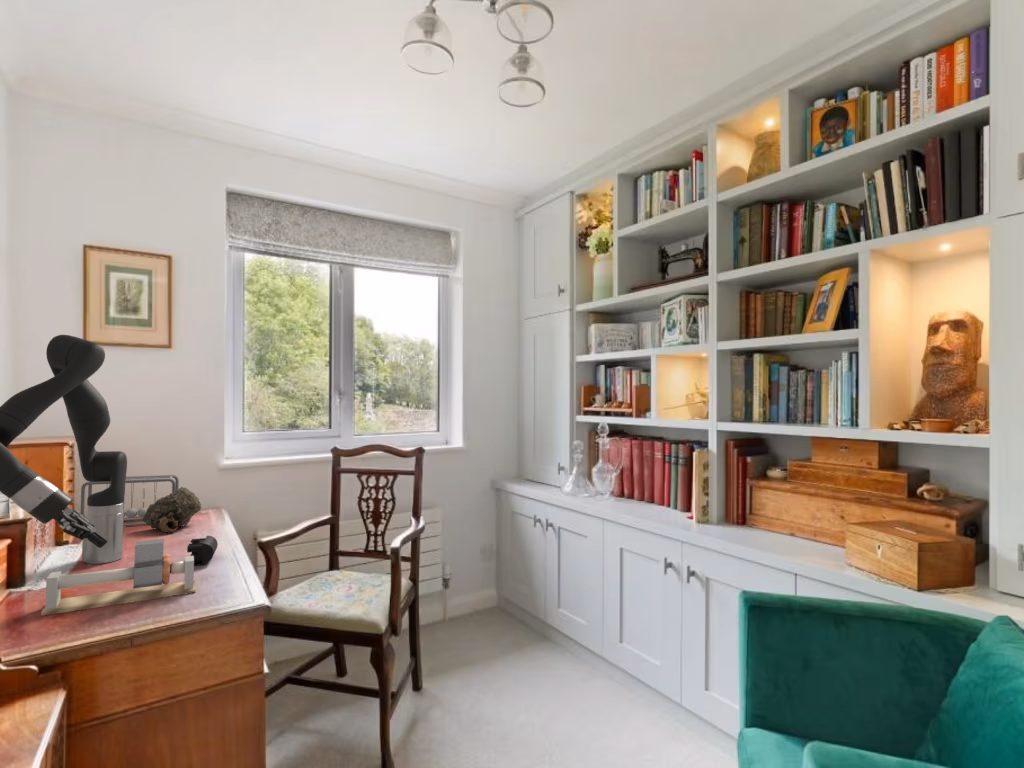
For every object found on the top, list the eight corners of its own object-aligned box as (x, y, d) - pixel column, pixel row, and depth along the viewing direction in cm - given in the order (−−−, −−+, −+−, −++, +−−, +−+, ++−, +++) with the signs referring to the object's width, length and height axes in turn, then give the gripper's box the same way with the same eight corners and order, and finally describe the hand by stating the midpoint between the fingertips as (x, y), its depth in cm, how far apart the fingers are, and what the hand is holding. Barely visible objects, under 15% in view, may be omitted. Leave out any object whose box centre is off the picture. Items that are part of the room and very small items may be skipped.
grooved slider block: (133, 588, 136) (134, 546, 137) (135, 581, 142) (136, 540, 142) (161, 584, 140) (163, 543, 140) (162, 577, 145) (163, 537, 145)
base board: (41, 615, 127) (41, 612, 127) (48, 603, 133) (48, 600, 133) (195, 592, 143) (195, 589, 143) (194, 583, 149) (194, 580, 149)
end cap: (213, 565, 165) (214, 542, 165) (186, 567, 163) (187, 544, 163) (217, 555, 174) (218, 534, 175) (191, 557, 172) (192, 536, 172)
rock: (178, 480, 215) (182, 478, 203) (206, 505, 219) (211, 505, 207) (136, 516, 205) (136, 516, 193) (166, 541, 209) (168, 544, 197)
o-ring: (161, 587, 139) (162, 559, 139) (162, 579, 145) (163, 552, 145) (169, 586, 140) (169, 558, 140) (169, 578, 146) (170, 551, 146)
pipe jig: (45, 612, 128) (46, 578, 128) (49, 605, 132) (50, 572, 133) (193, 591, 144) (193, 560, 144) (192, 585, 148) (193, 555, 148)
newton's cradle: (79, 530, 202) (81, 482, 202) (87, 524, 211) (89, 478, 211) (174, 523, 214) (175, 478, 214) (177, 517, 224) (179, 474, 224)
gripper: (50, 492, 126) (114, 539, 132) (62, 482, 137) (120, 526, 143) (19, 517, 123) (86, 564, 129) (34, 505, 134) (94, 549, 141)
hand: (104, 544), depth 136 cm, fingers closed
